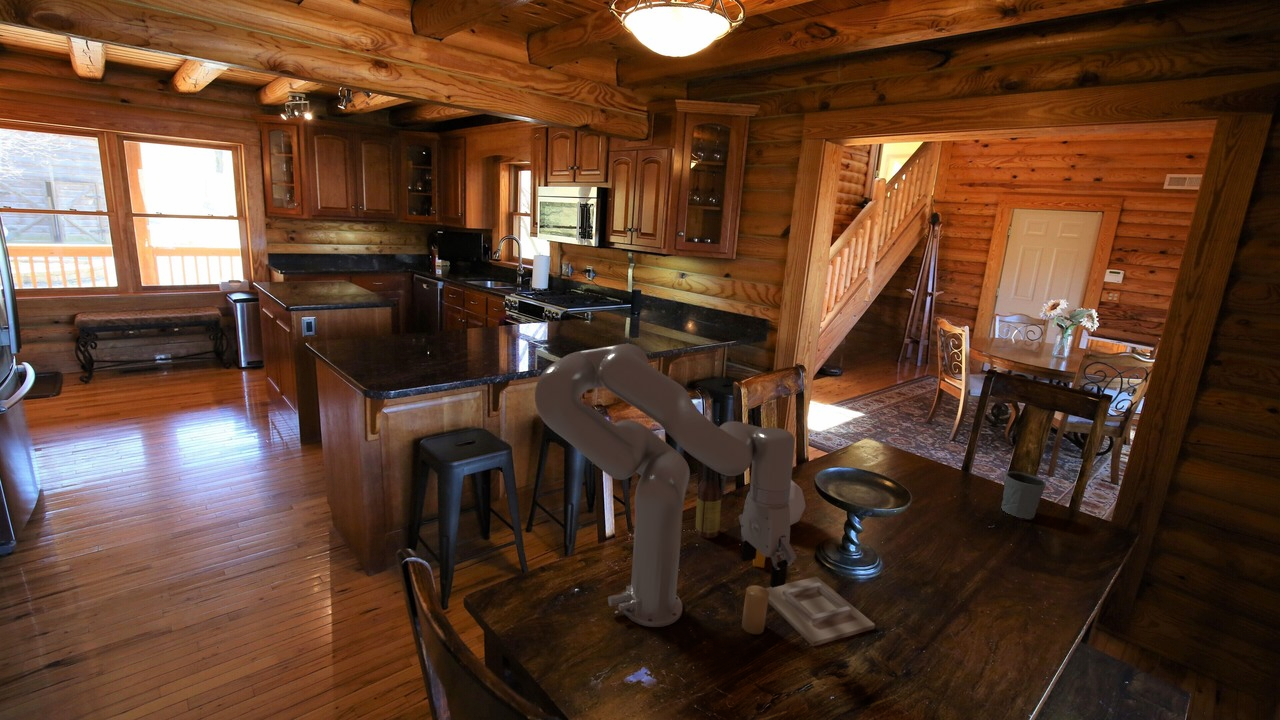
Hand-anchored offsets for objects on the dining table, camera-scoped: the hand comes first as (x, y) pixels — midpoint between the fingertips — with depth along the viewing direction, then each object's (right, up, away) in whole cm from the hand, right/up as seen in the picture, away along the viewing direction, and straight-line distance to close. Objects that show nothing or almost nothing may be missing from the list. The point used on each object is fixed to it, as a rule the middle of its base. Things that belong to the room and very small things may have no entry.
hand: (762, 572), depth 118 cm
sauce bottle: (-7, -4, +39) cm, 40 cm away
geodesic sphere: (+13, -4, +46) cm, 48 cm away
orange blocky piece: (+4, -7, +30) cm, 31 cm away
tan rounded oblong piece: (-1, -12, +3) cm, 13 cm away
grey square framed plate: (+13, -12, +9) cm, 20 cm away
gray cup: (+90, -5, +62) cm, 110 cm away
